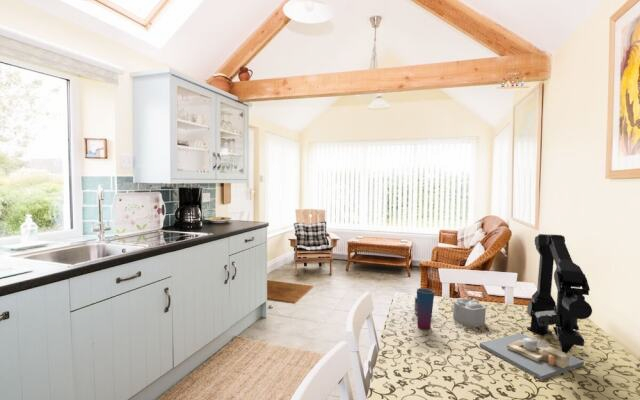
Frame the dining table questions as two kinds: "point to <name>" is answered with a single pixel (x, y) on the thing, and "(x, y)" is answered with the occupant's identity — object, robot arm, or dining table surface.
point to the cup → (424, 307)
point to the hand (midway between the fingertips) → (564, 353)
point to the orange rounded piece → (551, 360)
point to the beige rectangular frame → (541, 353)
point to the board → (525, 363)
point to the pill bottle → (415, 304)
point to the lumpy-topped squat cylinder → (469, 312)
